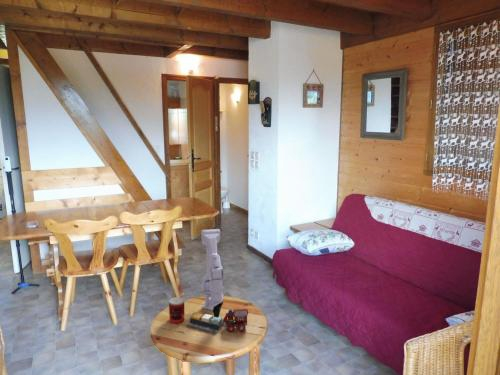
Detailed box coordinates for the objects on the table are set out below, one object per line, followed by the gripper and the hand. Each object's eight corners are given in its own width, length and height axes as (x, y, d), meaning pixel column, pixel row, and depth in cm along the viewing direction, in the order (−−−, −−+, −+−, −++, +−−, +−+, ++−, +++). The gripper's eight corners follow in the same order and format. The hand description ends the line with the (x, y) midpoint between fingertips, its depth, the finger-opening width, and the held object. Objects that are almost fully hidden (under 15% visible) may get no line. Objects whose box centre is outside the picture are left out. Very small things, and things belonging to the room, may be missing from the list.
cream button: (205, 317, 195) (205, 313, 195) (212, 319, 193) (212, 315, 193) (201, 321, 191) (201, 317, 191) (208, 322, 190) (208, 319, 189)
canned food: (180, 314, 202) (179, 295, 200) (187, 321, 196) (187, 301, 194) (166, 319, 197) (166, 299, 195) (174, 325, 191) (173, 305, 189)
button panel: (198, 315, 201) (198, 310, 201) (227, 322, 195) (227, 317, 194) (186, 326, 191) (186, 321, 190) (216, 334, 184) (216, 329, 183)
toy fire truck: (222, 325, 192) (222, 306, 190) (247, 324, 193) (247, 305, 191) (223, 333, 185) (223, 313, 183) (248, 331, 186) (248, 312, 185)
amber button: (196, 316, 197) (196, 312, 197) (203, 318, 196) (203, 314, 195) (192, 320, 194) (192, 316, 193) (199, 321, 192) (198, 318, 192)
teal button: (215, 319, 193) (215, 316, 192) (222, 321, 191) (222, 317, 191) (211, 323, 189) (211, 319, 189) (218, 325, 188) (218, 321, 187)
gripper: (214, 283, 195) (214, 308, 197) (202, 296, 181) (203, 322, 184) (227, 285, 193) (227, 310, 195) (216, 298, 179) (216, 324, 182)
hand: (216, 316), depth 189 cm, fingers closed
